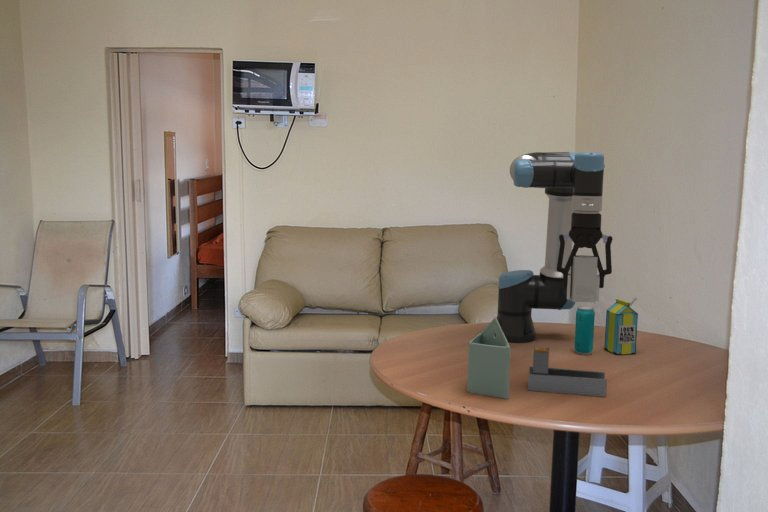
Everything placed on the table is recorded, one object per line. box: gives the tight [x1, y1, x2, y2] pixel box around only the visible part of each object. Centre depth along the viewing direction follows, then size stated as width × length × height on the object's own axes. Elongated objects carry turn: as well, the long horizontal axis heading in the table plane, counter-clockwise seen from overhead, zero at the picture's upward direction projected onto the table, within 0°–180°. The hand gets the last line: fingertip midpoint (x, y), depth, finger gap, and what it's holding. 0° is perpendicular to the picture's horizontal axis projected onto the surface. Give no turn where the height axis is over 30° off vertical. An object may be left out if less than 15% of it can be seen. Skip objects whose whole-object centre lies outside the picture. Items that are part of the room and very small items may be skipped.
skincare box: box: [570, 254, 598, 303], centre depth 188 cm, size 6×4×12 cm
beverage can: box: [574, 305, 596, 356], centre depth 229 cm, size 6×6×15 cm
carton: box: [603, 297, 639, 356], centre depth 231 cm, size 7×8×18 cm
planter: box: [466, 317, 511, 400], centre depth 190 cm, size 16×8×20 cm, turn 20°
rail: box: [527, 346, 608, 398], centre depth 192 cm, size 8×20×11 cm, turn 77°
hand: (582, 299), depth 189 cm, fingers closed on skincare box, 7 cm apart
